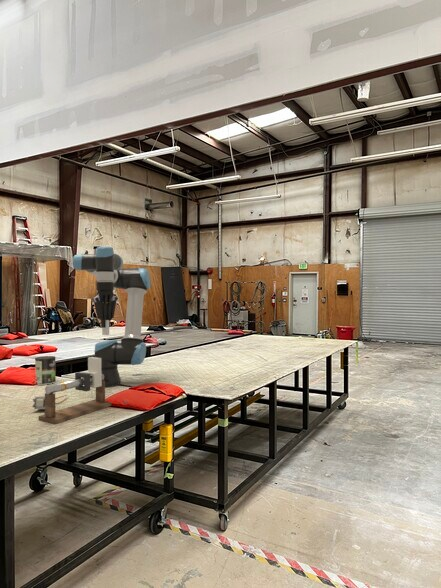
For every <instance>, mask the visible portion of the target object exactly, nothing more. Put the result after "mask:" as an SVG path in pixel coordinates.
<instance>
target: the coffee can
mask: <svg viewBox="0 0 441 588" xmlns="http://www.w3.org/2000/svg"><path fill="white" fill-rule="evenodd" d="M34 362H35V366H34V367H35V368H34V369H35V370H34V371H35V372H34V373H35V380H36V379H37V384H38V385H37V386H48V385H47V384H49V385H53V384H56V382H57V380H56V377H57V376H56V356H53V355H52V356H51V355H47V356H46V355H44V356H38V357H35V358H34ZM52 383H53V384H52Z"/></svg>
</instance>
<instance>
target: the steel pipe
mask: <svg viewBox="0 0 441 588" xmlns="http://www.w3.org/2000/svg"><path fill="white" fill-rule="evenodd" d="M102 380H104V375H103V374H102ZM90 383H93V376H90ZM79 386H84V378H82V377H81V378H80V379H76V380H75V379H73V380H69V381H63V382H59V383H54V384H49V385H45V388H44V392H45V393H47V394H51V393H55V394H56V393H58V392H63V391H66V390H69V389H70V390H71V389H74V388H75V387H79Z"/></svg>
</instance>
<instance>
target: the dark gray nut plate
mask: <svg viewBox="0 0 441 588" xmlns="http://www.w3.org/2000/svg"><path fill="white" fill-rule="evenodd" d="M74 377H75V379H74V380H76V379H80V378H84V385H83V386H79V387H75V389H74V390H76V391H80V392H86V393H87V392H90V391H91V387H90V374H88V373H84V372H78V371H77V372H74Z"/></svg>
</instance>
